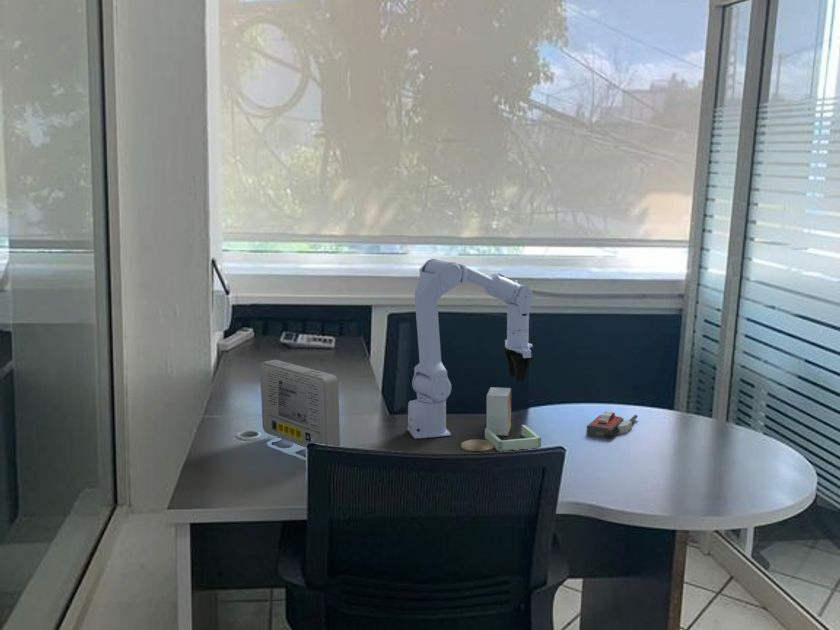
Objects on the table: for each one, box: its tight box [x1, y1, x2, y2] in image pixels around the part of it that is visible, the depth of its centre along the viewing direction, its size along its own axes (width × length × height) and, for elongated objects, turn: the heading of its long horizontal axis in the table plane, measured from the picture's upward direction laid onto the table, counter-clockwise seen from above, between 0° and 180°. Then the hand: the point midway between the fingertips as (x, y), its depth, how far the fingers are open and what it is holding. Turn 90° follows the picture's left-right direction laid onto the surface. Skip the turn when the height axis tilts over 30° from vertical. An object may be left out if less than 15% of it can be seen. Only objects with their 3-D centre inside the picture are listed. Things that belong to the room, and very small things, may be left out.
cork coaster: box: [460, 439, 495, 452], centre depth 210 cm, size 8×8×1 cm
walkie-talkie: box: [586, 411, 638, 440], centre depth 223 cm, size 9×4×20 cm
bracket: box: [484, 424, 542, 452], centre depth 212 cm, size 11×11×2 cm
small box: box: [485, 386, 512, 436], centre depth 221 cm, size 8×6×10 cm
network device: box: [259, 359, 341, 447], centre depth 208 cm, size 26×9×20 cm, turn 45°
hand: (517, 378), depth 233 cm, fingers open, 4 cm apart
